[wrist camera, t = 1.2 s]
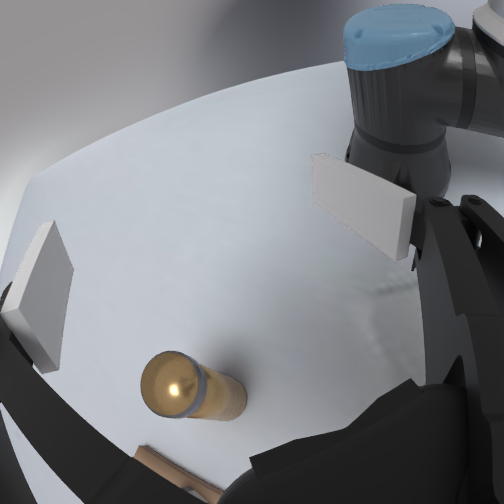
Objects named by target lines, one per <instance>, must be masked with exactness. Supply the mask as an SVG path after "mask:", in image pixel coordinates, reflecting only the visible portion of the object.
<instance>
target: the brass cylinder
mask: <svg viewBox="0 0 504 504" xmlns="http://www.w3.org/2000/svg"><path fill="white" fill-rule="evenodd" d="M141 393H142V397H143V400H144V402H145V404H146V405H147V406H148V408H149V409H150V410H151V411H152V412H154V413H155V414H157V415H159V416H162V417H166V418H175V419H180V418H185V417H186V418H196V419H206V420H219V421H229V420H233V419H235V418H237V417H238V416H239V415H241V413H242V412H243V411H244V409H245V407H246V403H247V394H246V391H245V389H244V387H243V386H242V384H241V383H240V382H238V381H237V380H235V379H233V378H230V377H228V376H226V375H223V374H221V373H219V372H216V371H214V370H212V369H210V368H207V367H205V366H203V365H201V364H199V363H198V362H197V361H196V360H194V359H193V358H191V357H189V356H187V355H185V354H183V353H181V352H177V351H166V352H162V353H160V354H158V355H156V356H155V357H154V358H152V359H151V360H150V361H149V363H148V364H147V365H146V367H145V369H144V371H143V374H142V377H141Z"/></svg>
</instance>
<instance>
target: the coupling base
mask: <svg viewBox="0 0 504 504" xmlns="http://www.w3.org/2000/svg"><path fill="white" fill-rule="evenodd" d="M134 458H135V459H137V460H139V461H140V462H141V463H143V464H144V465H146V466H147V467H149V468H150V469H152V470H153V471H155V472H156V473H158V474H159V475H161V476H162V477H164V478H165V479H167V480H169V481H170V482H172V483H173V484H175V485H177V486H178V487H180V488H182V489H183V490H185V491H187V492H188V493H190V494H192V495H194V496H195V497H197V498H199V499H201V500H202V501H204V502H206V503H208V504H217V502H218V500H219V498H220V497H221V496H222V494H223V493H224V492H223V491H221V490H219V489H217V488H216V487H214V486H212V485H210V484H208V483H206V482H204V481H203V480H201V479H199V478H197V477H195V476H194V475H192V474H190V473H189V472H187V471H185V470H183V469H182V468H180V467H179V466H177V465H175V464H174V463H172V462H170V461H169V460H167V459H166V458H164V457H163V456H161V455H160V454H158V453H157V452H155V451H154V450H152V449H151V448H149V447H148V446H140V445H139V447H138V449H137V451H136V453H135V456H134Z"/></svg>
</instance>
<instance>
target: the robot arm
mask: <svg viewBox="0 0 504 504" xmlns="http://www.w3.org/2000/svg"><path fill="white" fill-rule="evenodd" d="M343 38H344V48H345V56H344V62H345V64H346V66H347V70H348V76H349V83H350V90H351V98H352V105H353V114H354V123H355V127H354V130H353V133H352V136H351V139H350V144H349V146H348V149H347V152H346V157H345V162H344V161H342V160H339V159H337V158H334V157H332V156H329V155H327V154H324V153H323V154H317V155H312V174H313V203H314V204H315V205H317V206H318V207H320V208H321V209H322V210H324V211H325V212H327V213H328V214H330V215H331V216H333V217H334V218H335V219H337V220H338V221H340V222H341V223H343V224H344V225H345V226H347V227H348V228H350V229H351V230H353V231H354V232H355V233H357V234H358V235H359V236H361V237H362V238H364V239H365V240H366V241H368V242H369V243H370V244H372V245H373V246H375V247H376V248H377V249H379V250H380V251H381V252H383V253H384V254H385V255H387V256H388V257H389V258H391V259H392V260H393V261H398V260H400V259H403V258H405V257H407V256H408V251H409V245H410V243H411V244H412V245H414V246H415V247H416V250H415V255H414V260H413V265H412V270H411V271H414V268H416V269H417V276H418V283H419V291H420V300H421V309H422V319H423V331H424V345H425V366H426V384H425V385H424V386H419V387H418V386H417V385H416V383H415V382H414V381H413V380H412V379H411V378H410V379H408V380H407V381H405V382H404V383H402V384H400V385H399V386H397V387H396V388H394V389H392V390H391V391H389V392H387V393H386V394H384V395H382V396H381V397H379V398H378V399H377V400H376V401H375V402H374V403H373V404H372V405H370V406H369V407H368V408H367V409H366V410H365V411H364V412H363V413H362V414H361V415H360V416H359V417H358V418H357V419H356V420H355V421H353V422H352V423H351V424H350V425H349V426H348V427H346V428H344V429H341V430H337V431H333V432H329V433H325V434H320V435H316V436H311V437H306V438H301V439H295V440H293V441H290V442H288V443H286V444H283V445H281V446H278V447H276V448H273V449H271V450H268V451H265V452H263V453H260V454H257V455H255V456H252V457H249V459H250V462H251V465H252V468H251V469H250V470H248V471H247V472H245V473H244V474H242V475H241V476H240V477H239V478H237V479H236V480H235V481H234V482H233V483H232V484H231V485H230V486H229V487H228V488H227V489H226V490H225V492H224V493H223V494H222V496H221V497H220V498H219V500H218V502H217V504H504V218H503V217H502V216H501V215H500V214H499V213H498V212H497V211H496V210H495V209H494V208H493V207H492V206H490V205H489V204H488V203H487V202H486V201H485V200H483V199H481V198H480V197H478V196H476V195H463V196H462V198H461V203H460V206H453V205H452V204H451V202H449V201H448V200H446V199H443V197H444V195H445V193H446V191H447V188H448V185H449V181H450V176H451V165H450V161H449V157H448V151H447V145H446V140H445V132H446V126H450V127H456V128H462V129H467V130H472V131H476V132H481V133H485V134H490V135H494V136H498V137H502V138H504V0H488V3H487V4H485V5H483V6H481V7H479V8H477V9H476V10H474V12H473V26H472V29H467V28H461V27H456V26H455V24H454V23H453V21H452V19H451V17H450V16H449V15H448V14H447V13H445V12H444V11H442V10H439V9H437V8H433V7H425V6H424V5H418V4H390V5H383V6H377V7H373V8H370V9H367V10H364V11H362V12H359V13H357V14H355V15H354V16H353V17H351V18H350V19H349V20H348V21H347V23H346V25H345V27H344V30H343ZM481 235H482V243H481V246H480V247H479V246H478V244H479V240H480V236H481ZM73 271H74V268H73V266H72V264H71V261H70V259H69V256H68V254H67V252H66V249H65V247H64V244H63V241H62V239H61V236H60V234H59V231H58V228H57V226H56V223H55V220H53V221H50V222H47V223H44V224H41V225H40V227H39V229H38V231H37V233H36V235H35V237H34V238H33V240H32V242H31V244H30V246H29V248H28V250H27V252H26V254H25V256H24V259H23V261H22V263H21V265H20V267H19V269H18V271H17V274H16V276H15V278H14V280H13V282H10V284H9V285H8V286H7V287H6V289H5V290H4V291H3V294H2V296H1V298H0V299H1V300H0V403H1V402H2V404H3V405H4V407H5V408H6V410H7V411H8V413H9V414H10V416H11V417H12V419H13V420H14V422H15V423H16V425H17V426H18V427H19V429H20V430H21V431H22V433H23V434H24V436H25V437H26V438H27V440H28V441H29V442H30V443H31V445H32V446H33V447H34V449H35V450H36V451H37V452H38V454H39V455H40V456H41V457H42V458H43V460H44V461H45V462H46V463H47V464H48V465H49V467H50V468H51V469H52V470H53V471H54V472H55V473H56V475H57V476H58V477H59V478H60V479H61V480H62V481H63V482H64V483H65V484H66V485H67V486H68V487H69V488H70V490H71V491H72V492H73V493H74V494H75V495H76V496H77V497H78V498H79V499H80V500H81V501H82V502H83V503H84V504H208V503H206V502H204V501H202V500H201V499H199V498H197V497H195V496H194V495H192V494H190V493H188V492H187V491H185V490H183V489H182V488H180V487H178V486H177V485H175V484H173V483H172V482H170V481H169V480H167V479H165V478H164V477H162V476H161V475H159V474H158V473H156V472H155V471H153V470H152V469H150V468H149V467H147V466H146V465H144V464H143V463H141V462H140V461H139V460H137V459H135V458H134V457H130V456H129V455H127V454H126V453H124V452H123V451H122V450H121V449H119V448H118V447H117V446H115V445H114V444H113V443H112V442H110V441H109V440H108V439H107V438H105V437H104V436H103V435H102V434H101V433H99V432H98V431H97V430H96V429H95V428H94V427H92V426H91V425H90V424H89V423H88V422H87V421H86V420H84V419H83V418H82V417H81V416H80V415H79V414H78V413H77V412H76V411H75V410H74V409H72V408H71V407H70V406H69V405H68V404H67V403H66V402H65V401H64V400H63V399H62V398H61V397H60V396H59V395H58V394H57V393H56V392H55V391H54V390H53V389H52V388H51V387H50V386H49V385H48V384H47V383H46V382H45V380H44V379H43V378H42V377H41V376H40V375H39V374H38V373H37V372H36V371H35V370H34V368H33V363H34V365H35V366H36V367H37V368H38V370H39V371H40V372H41V374H44V373H48V372H53V371H57V370H59V366H60V355H61V346H62V338H63V330H64V323H65V316H66V309H67V303H68V297H69V292H70V286H71V281H72V276H73ZM0 504H37V502H36V500H35V498H34V496H33V494H32V492H31V490H30V487H29V485H28V483H27V481H26V479H25V477H24V474H23V472H22V470H21V467H20V465H19V462H18V460H17V457H16V455H15V452H14V450H13V447H12V444H11V441H10V439H9V436H8V433H7V430H6V427H5V424H4V421H3V417H2V414H1V411H0Z"/></svg>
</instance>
